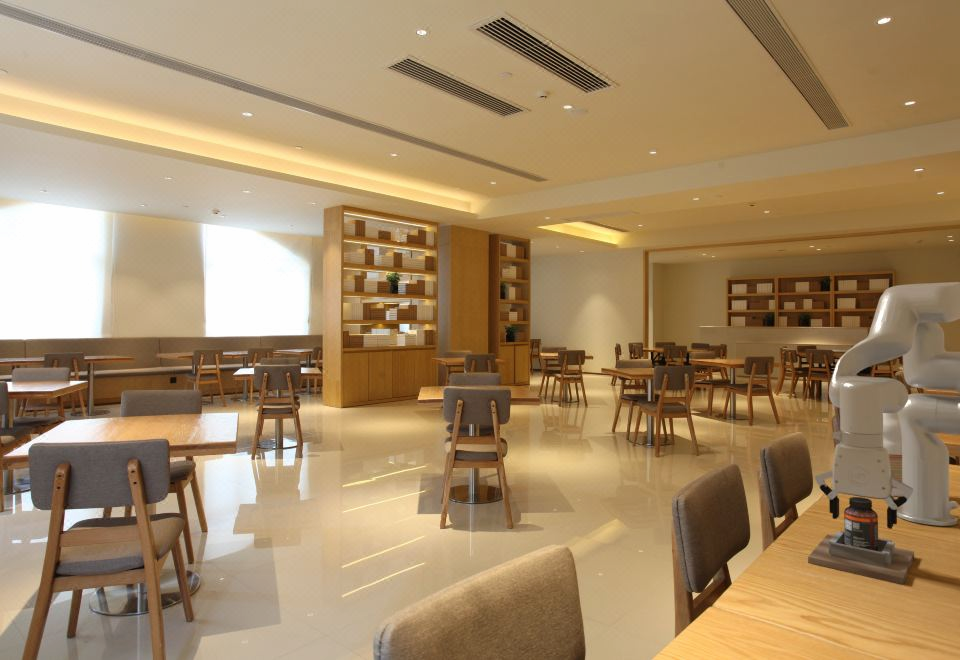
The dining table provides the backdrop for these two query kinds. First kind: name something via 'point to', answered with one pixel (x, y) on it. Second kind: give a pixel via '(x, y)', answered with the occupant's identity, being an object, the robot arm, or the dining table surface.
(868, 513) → the supplement bottle
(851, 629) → the dining table surface
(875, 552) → the bottle holder
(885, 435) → the fruit juice
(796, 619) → the dining table surface
